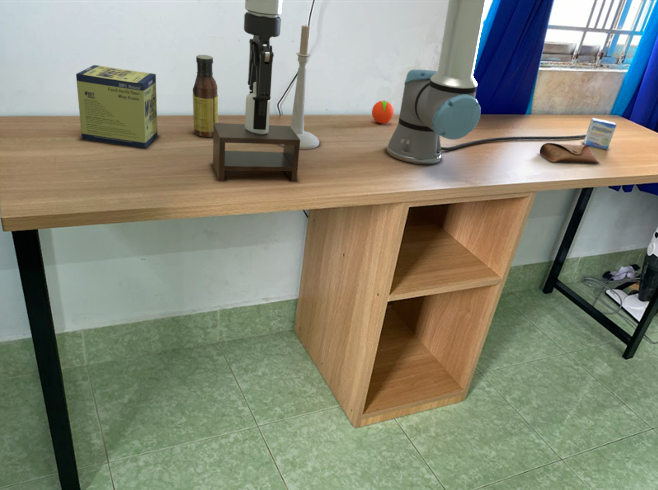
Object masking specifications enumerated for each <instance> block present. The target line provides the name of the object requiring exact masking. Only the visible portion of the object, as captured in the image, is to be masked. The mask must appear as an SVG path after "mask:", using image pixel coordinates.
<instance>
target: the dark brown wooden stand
mask: <svg viewBox="0 0 658 490" xmlns="http://www.w3.org/2000/svg"><path fill="white" fill-rule="evenodd" d="M290 126H291V125H274V124H269V132H268V133H267V134H263V135H261V134H256V133H253V132H250V131H248V130H246V129H245V123H227V122H221V123H220V122H218V123H213V137H212V166H213V169H214V171H215V174H216V177H217V180H218V181H222V182H223V181H225V171H251V172H252V171H253V172H254V171H255V172H256V171H257V172H259V171H260V172H261V171H262V172H285V173H286V175H287V176H288V178H289V179H290V181H291V182H298V181H297V179H298V169H299V158H300V149H299V148H300V139H299V138H298V136H297V135H296V134H295V132H294V131H293V129H292V128H291V127H290ZM226 144H253V145H254V144H255V145H279V144H284V146H283V148H282V149H283V151H252V150H251V151H249V150H248V151H247V150H226Z"/></svg>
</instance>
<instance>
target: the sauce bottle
mask: <svg viewBox="0 0 658 490" xmlns="http://www.w3.org/2000/svg"><path fill="white" fill-rule="evenodd" d="M195 58H196V60H195V62H196V76H195V81H194V85H193V87H192V108H193V109H192V110H193V111H192V113H193V129H194V133H195V135H196V136H199V137H202V138H213V123H219V95H218V84H217V81H216V80H215V78H214V76H213V74H214V72H213V64H214V58H213V56H211V55H207V54H198V55H196V57H195Z"/></svg>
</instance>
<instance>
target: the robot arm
mask: <svg viewBox="0 0 658 490" xmlns="http://www.w3.org/2000/svg"><path fill="white" fill-rule="evenodd" d="M487 2H488V0H448V3H447V10H446V17H445V22H444V30H443V36H442V41H441V48H440V49H441V50H440V54H439V55H440V56H439V60H438V61H439V62H438V68H437V70H428V69H411V70H409V71H408V72H407V74H406V78H405V81H404V86H403V93H402V99H401V105H400V111H399V117H398V123H397V126H396V128H395V130H394V132H393V133H392V135H391V137H390V139H389V142H388V144H387V148H386V152H387V154H388V155H390V156H391V157H392V158H394V159H397V160H399V161H402V162H406V163H409V164H415V165H434V164H438V163H439V162H441V158H442V151H444V152H445V151H446V152H449V151H454V150H457V149H460V148H464V147H468V146H473V145H477V144H483V143H489V142H500V141H515V140H516V141H517V140H570V139H571V140H573V139H574V140H575V139H585V136H586V134H580V135H578V134H577V135H558V136H557V135H556V136H555V135H554V136H553V135H551V136H550V135H549V136H546V135H545V136H501V137H491V138H484V139H483V138H482V139H478V140H473V141H468V142H464V143H459V144H456V145H453V146H449V147H446V146H442V145H441V137H443V138H444V139H446V140H450V141H454V140H460V139H463V138H464V137H466V136H468V135H469V133H471V132H473V131H474V130H475V128H476V127H477V125H478V123H479V121H480V118H481V110H482V109H481V106H480V104H479V101H478V100H477V98H476V95H477V89H478V82H477V81H476V79H475V78H474V73H475V72H474V70H475V66H476V60H477V55H478V50H479V44H480V38H481V33H482V29H483V22H484V17H485V13H486V12H485V11H486V8H487V7H486V6H487ZM244 9H245V10H246V12H245V13H244V15H243V17H244V18H243V31H244V32H245V33H247V34H249V35H250V36H251V35H252V36H253V37H252V38H250V39H249V41H248V43H249V56H248V57H249V58H248V77H247V85H248V89H249V94H250V93H253V83H254V82H256V97H253V100H255V102H254V121H253V129H257V130H266V119H267V103H268V100H270V101H271V98H272V97H271V94H272V93H271V92H272V91H271V90H272V75H273V61H274V56H275V54H274V51H273V45H271V38H277V37H279V36H280V35H281V25H282V19H281V17H280V15H282V13H283V0H245V1H244Z"/></svg>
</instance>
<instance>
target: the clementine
mask: <svg viewBox="0 0 658 490" xmlns="http://www.w3.org/2000/svg"><path fill="white" fill-rule="evenodd" d="M394 112H395V111H394V107H393V105H392V104H391V103H390V102H389V101H386V100H379V101H377V102H375V104H373V106H372V109H371V115H372V116H371V117H372V118H373V120H374V121H375V122H376V123H379V124H381V125H382V124H387V123H389V122H390V121H391V120H393V119H392V118H393V116H394Z"/></svg>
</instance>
